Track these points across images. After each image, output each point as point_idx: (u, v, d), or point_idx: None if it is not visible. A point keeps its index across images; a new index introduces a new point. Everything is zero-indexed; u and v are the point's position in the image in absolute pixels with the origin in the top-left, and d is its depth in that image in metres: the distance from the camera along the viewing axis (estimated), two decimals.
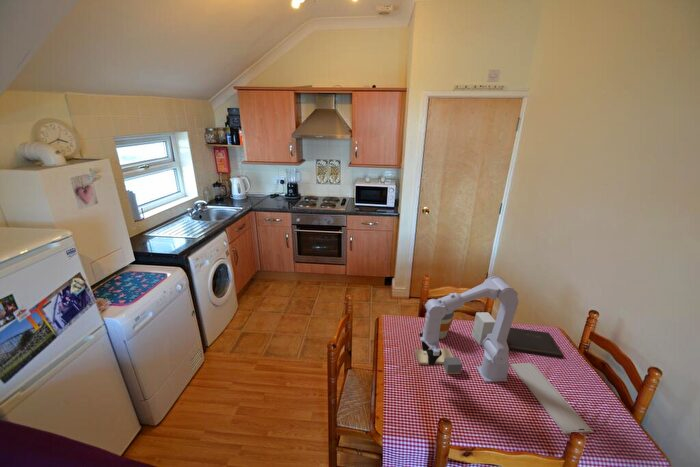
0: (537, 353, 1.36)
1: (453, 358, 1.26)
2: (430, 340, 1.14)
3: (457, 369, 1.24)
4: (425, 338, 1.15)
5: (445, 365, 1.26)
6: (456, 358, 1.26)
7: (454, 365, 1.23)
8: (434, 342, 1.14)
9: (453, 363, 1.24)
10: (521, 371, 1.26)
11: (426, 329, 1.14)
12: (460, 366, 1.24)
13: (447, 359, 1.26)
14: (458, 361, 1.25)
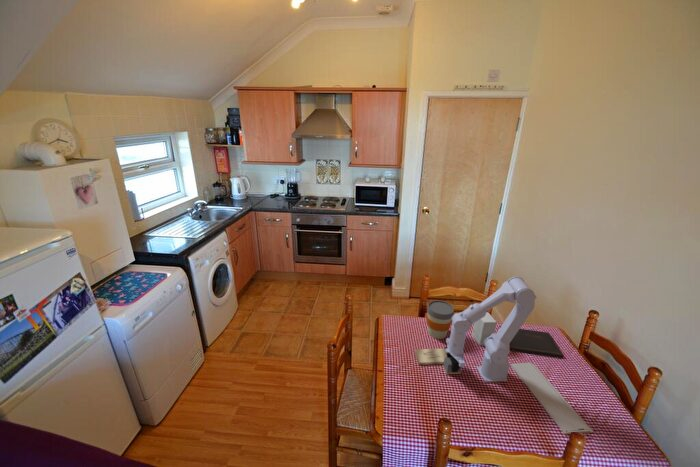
0: (537, 353, 1.36)
1: None
2: (455, 352, 1.20)
3: None
4: (450, 350, 1.21)
5: (445, 365, 1.26)
6: None
7: None
8: (459, 354, 1.20)
9: None
10: (521, 371, 1.26)
11: (451, 340, 1.21)
12: None
13: (447, 359, 1.26)
14: None
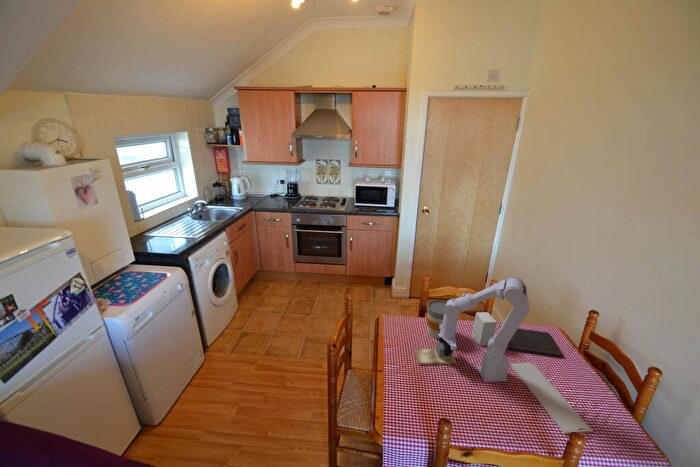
0: (537, 353, 1.36)
1: None
2: (447, 336, 1.27)
3: None
4: (443, 334, 1.28)
5: (437, 350, 1.32)
6: None
7: None
8: (451, 338, 1.27)
9: None
10: (521, 371, 1.26)
11: (442, 324, 1.28)
12: None
13: (439, 344, 1.32)
14: None
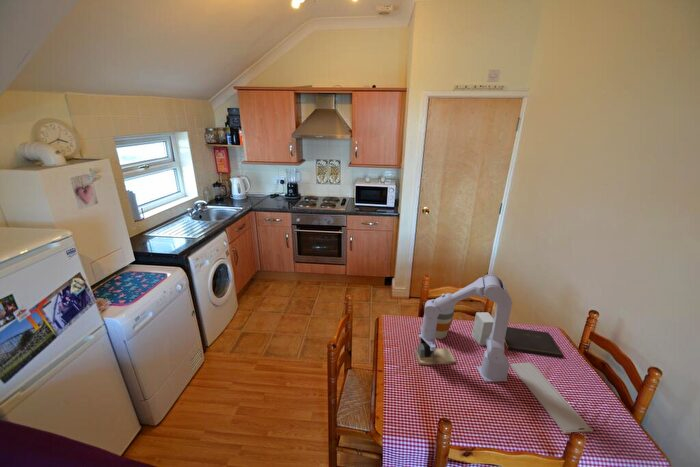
0: (537, 353, 1.36)
1: None
2: (427, 337, 1.26)
3: None
4: (423, 335, 1.27)
5: (418, 350, 1.32)
6: None
7: None
8: (431, 339, 1.26)
9: None
10: (520, 371, 1.26)
11: (422, 325, 1.27)
12: None
13: (420, 345, 1.32)
14: None
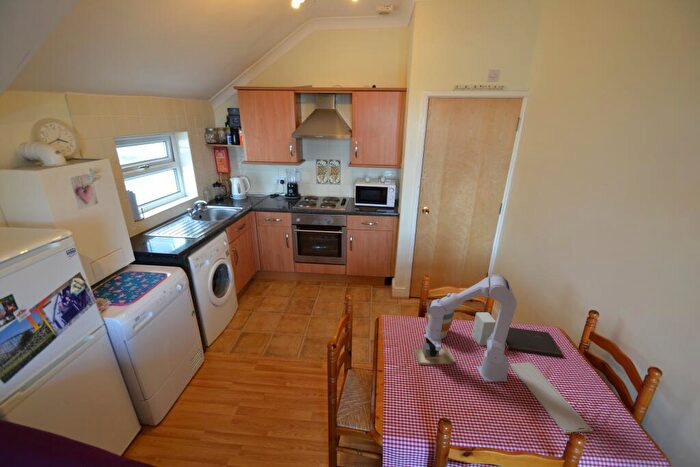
0: (537, 353, 1.36)
1: None
2: (432, 337, 1.26)
3: None
4: (428, 335, 1.27)
5: (423, 350, 1.32)
6: None
7: None
8: (436, 338, 1.26)
9: None
10: (520, 371, 1.26)
11: (428, 325, 1.27)
12: None
13: (425, 344, 1.32)
14: None
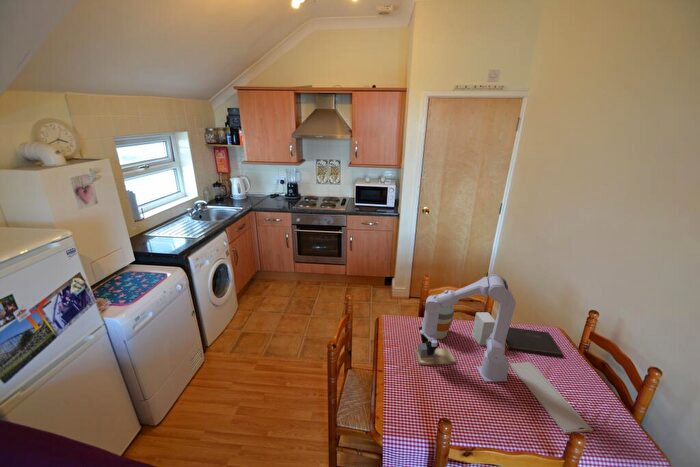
0: (537, 353, 1.36)
1: None
2: (428, 333, 1.25)
3: None
4: (424, 331, 1.27)
5: (419, 350, 1.32)
6: None
7: None
8: (432, 334, 1.25)
9: (426, 348, 1.30)
10: (520, 370, 1.26)
11: (424, 321, 1.26)
12: None
13: (421, 345, 1.32)
14: None
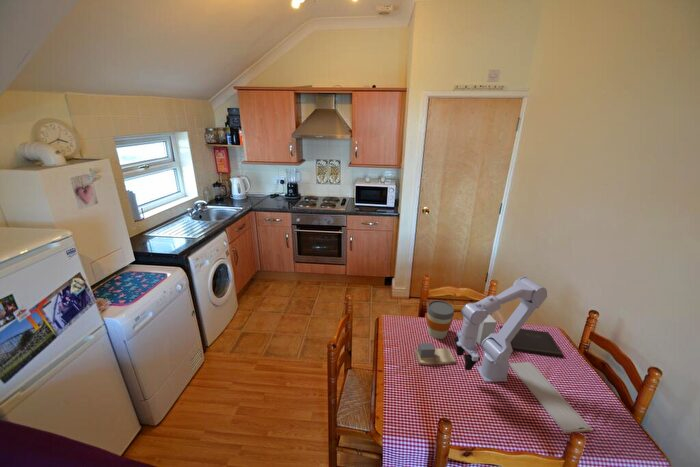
0: (537, 353, 1.36)
1: (427, 344, 1.32)
2: (467, 345, 1.12)
3: (430, 354, 1.30)
4: (462, 343, 1.13)
5: (419, 350, 1.32)
6: (430, 344, 1.32)
7: (427, 350, 1.29)
8: (472, 347, 1.12)
9: (426, 348, 1.30)
10: (520, 370, 1.26)
11: (465, 335, 1.11)
12: (433, 351, 1.30)
13: (421, 345, 1.32)
14: (432, 347, 1.30)
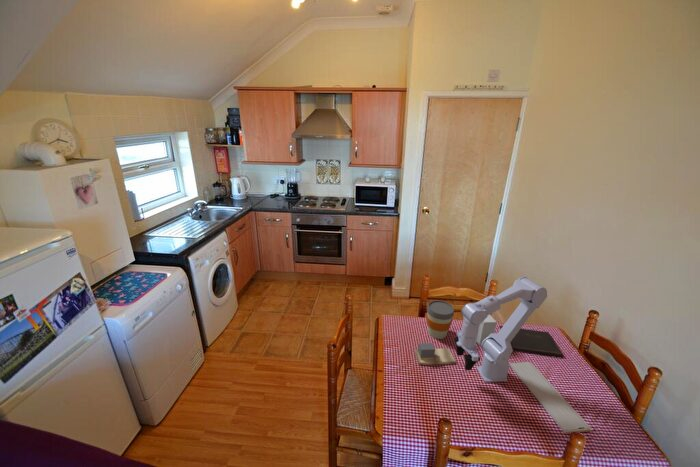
0: (537, 353, 1.36)
1: (427, 344, 1.32)
2: (467, 345, 1.12)
3: (430, 354, 1.30)
4: (462, 343, 1.13)
5: (419, 350, 1.32)
6: (430, 344, 1.32)
7: (427, 350, 1.29)
8: (472, 347, 1.12)
9: (426, 348, 1.30)
10: (520, 370, 1.26)
11: (465, 335, 1.11)
12: (433, 351, 1.30)
13: (421, 345, 1.32)
14: (432, 347, 1.30)
